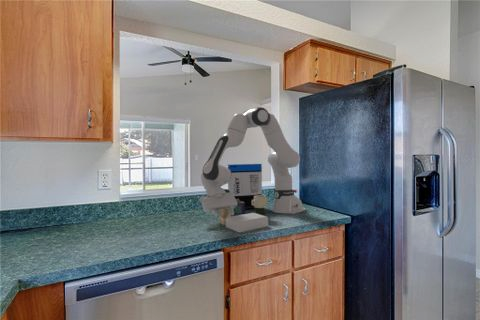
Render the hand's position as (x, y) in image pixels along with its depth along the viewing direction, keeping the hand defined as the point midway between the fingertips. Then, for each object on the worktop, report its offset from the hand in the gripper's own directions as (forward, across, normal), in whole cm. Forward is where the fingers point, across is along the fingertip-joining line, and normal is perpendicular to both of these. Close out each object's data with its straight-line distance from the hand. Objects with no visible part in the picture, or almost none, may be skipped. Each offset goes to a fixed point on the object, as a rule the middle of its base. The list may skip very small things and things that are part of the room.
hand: (225, 215), depth 144 cm
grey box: (+11, +6, -5) cm, 14 cm away
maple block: (+3, 0, +4) cm, 4 cm away
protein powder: (-14, +32, +21) cm, 41 cm away
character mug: (+5, +22, +2) cm, 23 cm away
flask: (-3, +14, +9) cm, 17 cm away
